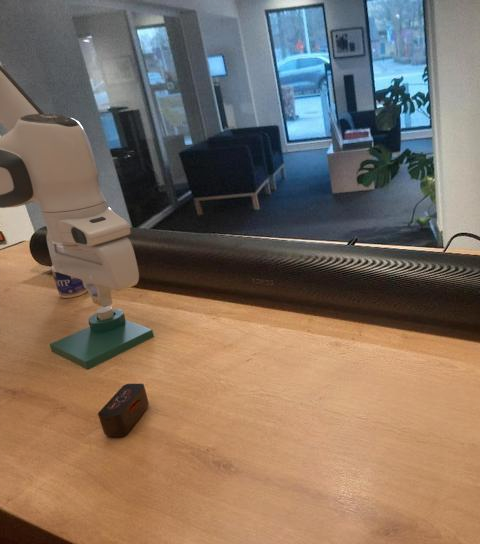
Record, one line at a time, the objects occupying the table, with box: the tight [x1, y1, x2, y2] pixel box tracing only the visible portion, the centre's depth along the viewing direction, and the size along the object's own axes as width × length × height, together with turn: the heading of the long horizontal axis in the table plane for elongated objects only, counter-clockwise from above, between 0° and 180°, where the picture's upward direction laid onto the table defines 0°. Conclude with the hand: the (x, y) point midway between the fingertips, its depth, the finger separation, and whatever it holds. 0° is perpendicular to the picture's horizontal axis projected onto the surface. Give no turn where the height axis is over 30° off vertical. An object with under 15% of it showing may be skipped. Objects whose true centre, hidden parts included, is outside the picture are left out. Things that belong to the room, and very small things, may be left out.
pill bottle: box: [50, 264, 88, 299], centre depth 99 cm, size 5×5×9 cm
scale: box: [49, 308, 155, 370], centre depth 79 cm, size 11×11×3 cm
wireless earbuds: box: [97, 383, 150, 437], centre depth 60 cm, size 5×7×3 cm, turn 175°
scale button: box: [95, 306, 114, 320], centre depth 82 cm, size 2×2×2 cm
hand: (103, 304), depth 82 cm, fingers closed
